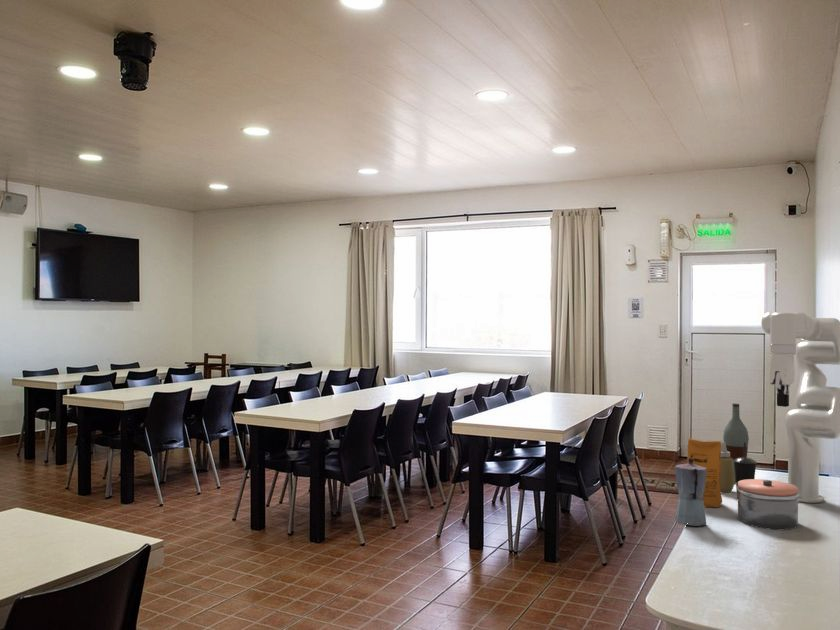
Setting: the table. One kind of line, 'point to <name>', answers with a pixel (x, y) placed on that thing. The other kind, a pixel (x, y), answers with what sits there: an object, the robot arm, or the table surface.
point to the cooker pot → (768, 510)
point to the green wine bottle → (735, 435)
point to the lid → (768, 487)
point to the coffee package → (708, 468)
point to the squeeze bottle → (726, 470)
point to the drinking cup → (744, 468)
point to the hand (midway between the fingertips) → (782, 406)
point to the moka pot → (690, 494)
